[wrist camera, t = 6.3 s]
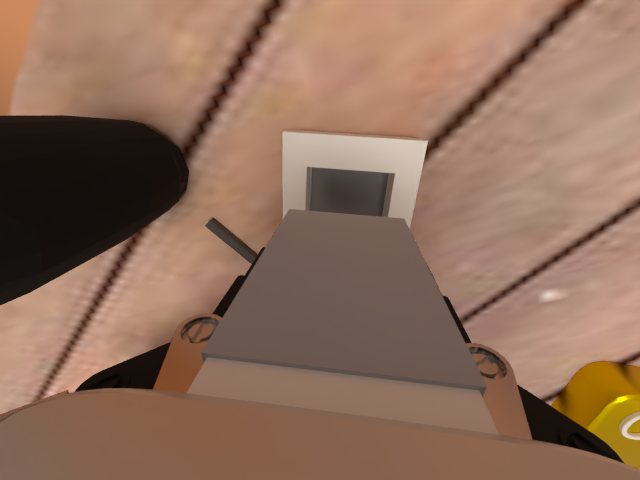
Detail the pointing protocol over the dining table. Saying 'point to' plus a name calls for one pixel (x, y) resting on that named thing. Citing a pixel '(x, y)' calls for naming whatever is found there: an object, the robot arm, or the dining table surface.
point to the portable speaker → (77, 192)
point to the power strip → (345, 177)
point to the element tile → (606, 405)
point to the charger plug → (345, 328)
